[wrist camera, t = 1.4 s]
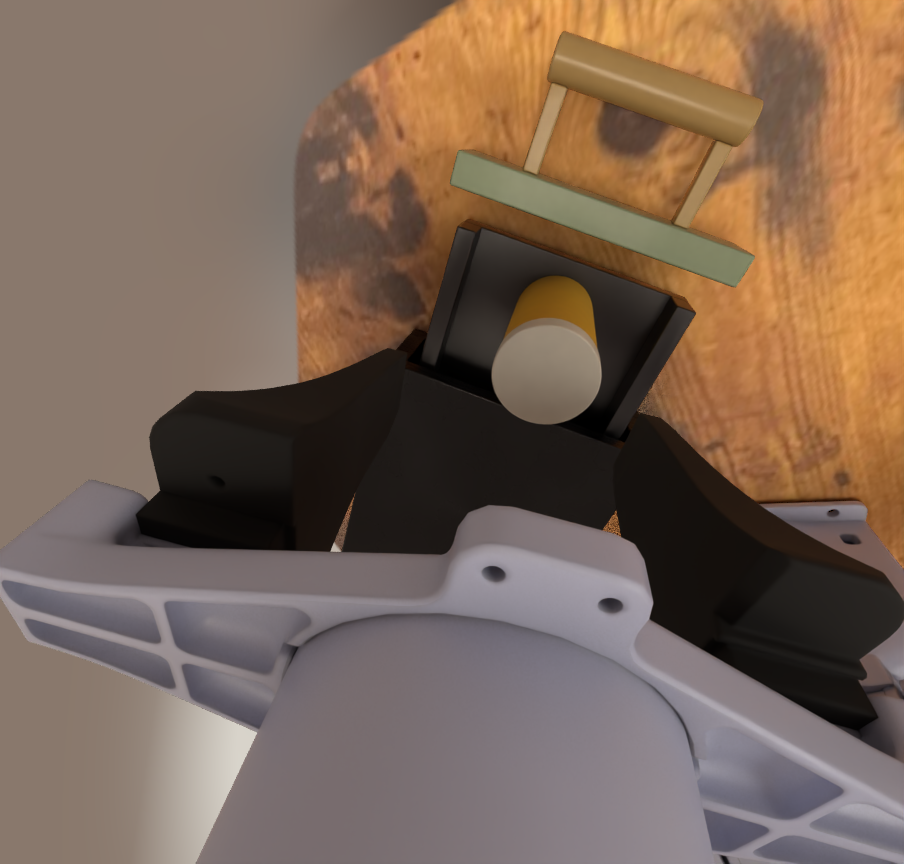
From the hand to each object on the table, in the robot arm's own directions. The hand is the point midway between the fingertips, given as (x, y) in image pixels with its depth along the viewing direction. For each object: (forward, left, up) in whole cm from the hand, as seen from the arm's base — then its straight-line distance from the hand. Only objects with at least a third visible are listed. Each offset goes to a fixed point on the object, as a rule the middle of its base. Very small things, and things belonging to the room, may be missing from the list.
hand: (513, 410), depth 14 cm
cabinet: (+4, +9, -11) cm, 14 cm away
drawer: (-1, -1, -10) cm, 10 cm away
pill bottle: (-1, 0, -9) cm, 9 cm away
